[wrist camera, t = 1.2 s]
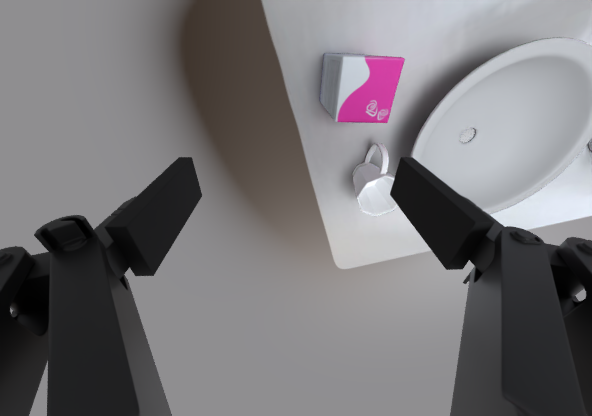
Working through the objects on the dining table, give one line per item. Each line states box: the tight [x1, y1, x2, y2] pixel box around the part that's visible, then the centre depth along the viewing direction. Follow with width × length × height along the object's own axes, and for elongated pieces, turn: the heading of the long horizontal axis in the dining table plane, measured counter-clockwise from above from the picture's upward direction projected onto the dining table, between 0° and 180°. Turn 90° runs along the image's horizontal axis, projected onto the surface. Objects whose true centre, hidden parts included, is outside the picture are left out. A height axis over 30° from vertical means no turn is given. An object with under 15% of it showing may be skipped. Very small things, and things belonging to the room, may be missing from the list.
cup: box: [352, 143, 398, 216], centre depth 34 cm, size 7×10×8 cm
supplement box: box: [320, 53, 405, 123], centre depth 25 cm, size 6×6×12 cm
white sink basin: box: [410, 37, 592, 214], centre depth 32 cm, size 24×24×7 cm
